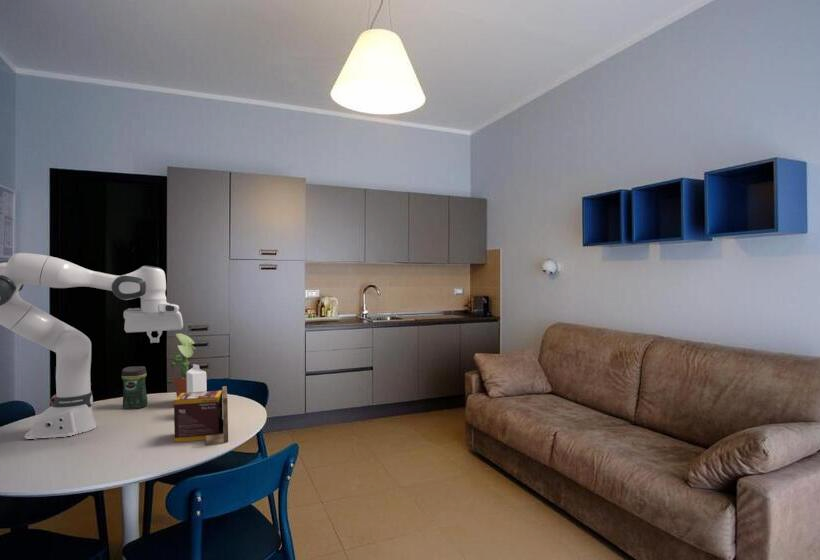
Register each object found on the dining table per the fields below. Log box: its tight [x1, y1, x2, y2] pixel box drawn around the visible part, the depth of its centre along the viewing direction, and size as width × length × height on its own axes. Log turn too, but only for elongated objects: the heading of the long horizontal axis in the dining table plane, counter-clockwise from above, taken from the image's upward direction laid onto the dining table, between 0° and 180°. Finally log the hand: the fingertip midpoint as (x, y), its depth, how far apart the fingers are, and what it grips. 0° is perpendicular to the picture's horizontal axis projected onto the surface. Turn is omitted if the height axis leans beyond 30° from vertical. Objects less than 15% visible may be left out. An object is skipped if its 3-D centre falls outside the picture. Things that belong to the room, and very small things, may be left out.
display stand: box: [205, 385, 229, 446], centre depth 180 cm, size 7×19×16 cm, turn 22°
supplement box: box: [173, 389, 223, 443], centre depth 179 cm, size 10×15×16 cm
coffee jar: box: [121, 365, 148, 410], centre depth 218 cm, size 10×8×19 cm
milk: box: [186, 363, 208, 393], centre depth 203 cm, size 6×6×22 cm
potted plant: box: [170, 332, 196, 398], centre depth 220 cm, size 16×15×35 cm
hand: (154, 342), depth 187 cm, fingers closed
